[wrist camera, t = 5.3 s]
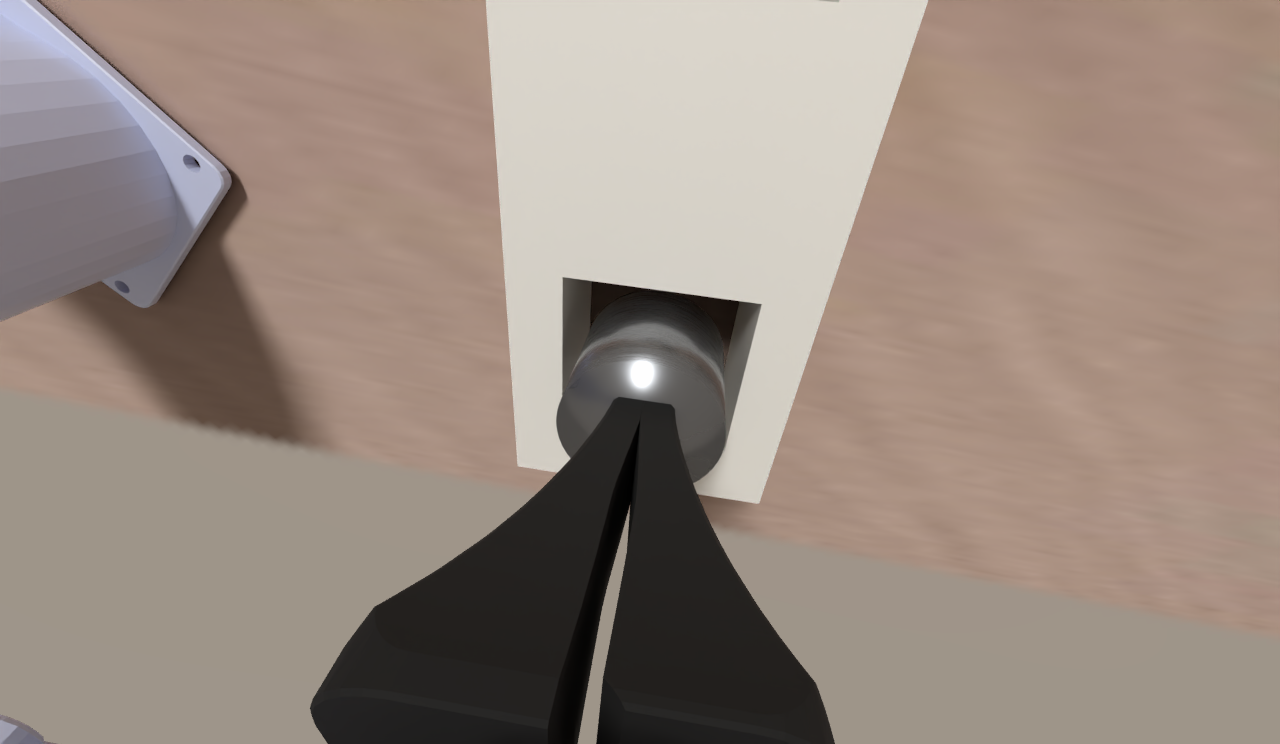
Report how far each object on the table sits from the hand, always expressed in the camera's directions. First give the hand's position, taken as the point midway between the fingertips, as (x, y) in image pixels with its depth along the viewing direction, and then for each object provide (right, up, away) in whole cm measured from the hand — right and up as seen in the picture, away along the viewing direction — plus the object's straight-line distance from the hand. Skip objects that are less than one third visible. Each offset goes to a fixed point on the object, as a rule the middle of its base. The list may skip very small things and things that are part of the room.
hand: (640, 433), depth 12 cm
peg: (0, +2, +3) cm, 4 cm away
